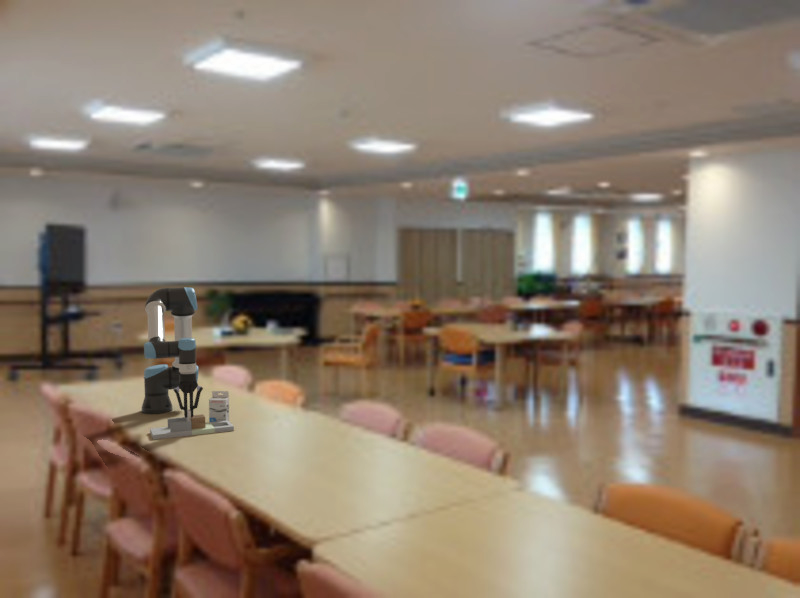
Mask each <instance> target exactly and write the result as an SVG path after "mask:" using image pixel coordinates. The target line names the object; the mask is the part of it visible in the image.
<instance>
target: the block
mask: <svg viewBox="0 0 800 598" xmlns="http://www.w3.org/2000/svg"><path fill="white" fill-rule="evenodd" d="M205 423H206V416H205V415H204V414H203V413H202V414H193V417H191V427H192V429H199V428H206V427H205Z"/></svg>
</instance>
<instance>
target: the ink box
mask: <svg viewBox="0 0 800 598" xmlns="http://www.w3.org/2000/svg"><path fill="white" fill-rule="evenodd" d="M211 393H212V396H211V397H210V398H209V399H208V414H209V415H208V420H209V421H208V422H217V421H226V420H228V421H229V422H230V397H229V396H230V395H229V391H228V390H227V391H226V390H221V391H220V390H213V391H211Z"/></svg>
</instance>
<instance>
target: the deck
mask: <svg viewBox="0 0 800 598" xmlns="http://www.w3.org/2000/svg"><path fill="white" fill-rule="evenodd" d="M205 427H206V428H199V429H192V427H191V421H187V418H185V416H181V417H172V418H167V426H162V427H154V428H149V433H150V436H151V438H152V440H161V439H163V440H164V439H170V438H180V437H188V436H197V435H205V434H206V435H208V434H215V433H223V432H224V433H225V432H234V431H235V426H234V424H232V423H231V421H230V420H229V421H228V420H226V421H217V422H209V421H208V422H205Z"/></svg>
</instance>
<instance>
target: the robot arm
mask: <svg viewBox="0 0 800 598" xmlns="http://www.w3.org/2000/svg"><path fill="white" fill-rule="evenodd" d="M146 299H147V300H146V302H145V304H144V310H145V313H146V315H147V338H148V339H147V341H148V342H145V343H143V348H144V349H143V350H144V351H143V352H144V353H143V354H144V358H145V359H147V360H149V359H150V360H151V359H154V360H155V359H156V360H157V359H167V358H168V359H169V358H170V359H171V358H174V361H173V362H172V363H171V366H168V364H167V363H165V364H164V363H163V364H157V365H151V366H148V367H146V368H144V370H143V371H144V372H143V374H144V375H143V379H144V386H143V387H144V397H143V398H144V399H143V401H142V404H141V413H143V414H153V415H154V414H155V415H156V414H163V413H168V412H169V413H170V412H171V411H173V403H172V401H171V398H170V394H169V390H170V391H171V390H173V392H174V393H175V395H176V399H177V403H178V405H179V409H181V411H182V410H183V411H184V412H183V413H184V415H183V417H185V418H187V421H191V417H193V415H194V410H195V409H197V408H198V407H199V401H200V397H201V393H202V391H203V390H204V388H203V387H202V386H200V385H199V383H198V381H199V380H198V379H199V365H197V343H196V339H195V338H193V319H192V317H193V316H194V315H196V314H195V313H196V311H197V310H198V302H197V296H196V291H195V289H194V288H193V287H186V286H184V287H181V286H180V287H161V288H158V289H156V290H155V291H153V292H152V293H151V294H150V295H149V296H148V298H146ZM166 312H170V315H171V316H172V317H173V325H174V327H173V330H174V340H171V341H170V340H169V341H167V340H166V329H165V313H166ZM195 391H196V395H195V398H194V393H195ZM179 392H182V394H183V403H182V399H181V396H180V393H179ZM188 394H189V408H188Z"/></svg>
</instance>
